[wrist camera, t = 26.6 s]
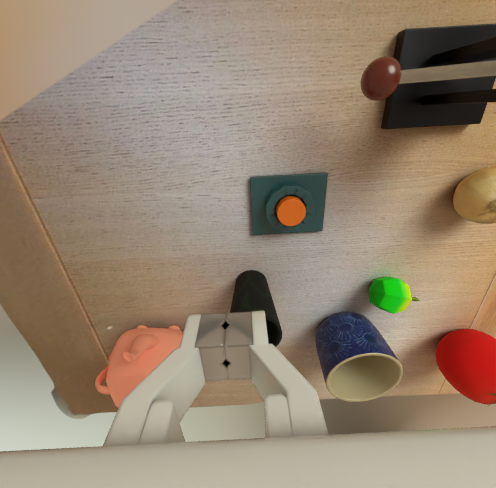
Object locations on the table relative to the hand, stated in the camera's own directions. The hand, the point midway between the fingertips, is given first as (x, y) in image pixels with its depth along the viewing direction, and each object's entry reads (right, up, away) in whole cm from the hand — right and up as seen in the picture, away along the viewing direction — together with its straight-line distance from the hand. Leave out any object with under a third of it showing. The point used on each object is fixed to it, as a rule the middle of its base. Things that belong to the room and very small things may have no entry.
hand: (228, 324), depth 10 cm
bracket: (+24, +23, +21) cm, 40 cm away
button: (+7, +8, +26) cm, 28 cm away
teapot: (-17, -16, +41) cm, 47 cm away
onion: (+34, +11, +28) cm, 46 cm away
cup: (+1, -4, +35) cm, 35 cm away
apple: (+26, -4, +36) cm, 44 cm away
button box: (+7, +9, +28) cm, 30 cm away
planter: (+20, -14, +41) cm, 47 cm away
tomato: (+43, -17, +43) cm, 63 cm away
